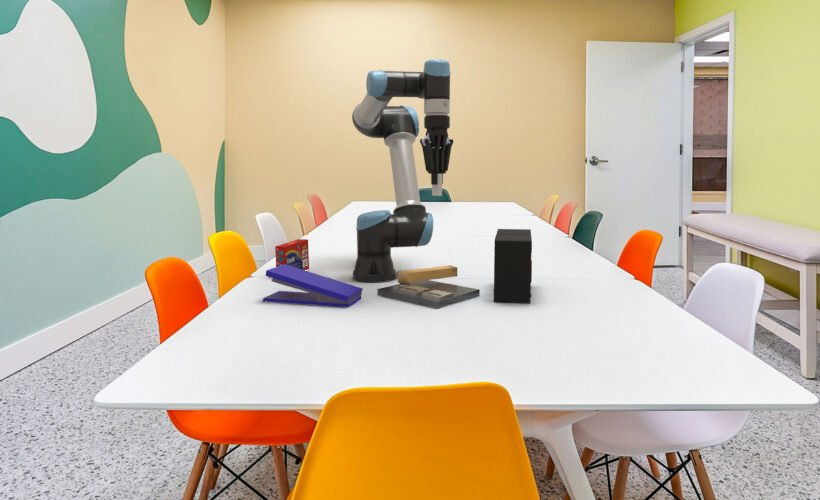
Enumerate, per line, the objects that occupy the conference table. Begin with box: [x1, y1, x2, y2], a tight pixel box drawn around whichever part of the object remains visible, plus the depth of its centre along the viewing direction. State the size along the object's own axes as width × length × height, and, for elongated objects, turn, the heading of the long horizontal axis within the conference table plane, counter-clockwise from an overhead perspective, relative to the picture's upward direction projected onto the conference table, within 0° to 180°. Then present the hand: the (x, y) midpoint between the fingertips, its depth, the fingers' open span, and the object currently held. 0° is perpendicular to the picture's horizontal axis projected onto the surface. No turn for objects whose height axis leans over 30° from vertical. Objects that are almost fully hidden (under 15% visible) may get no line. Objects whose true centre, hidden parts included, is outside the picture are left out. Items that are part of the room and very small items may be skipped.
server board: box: [376, 280, 481, 310], centre depth 178 cm, size 24×20×3 cm
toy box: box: [274, 238, 310, 271], centre depth 212 cm, size 18×4×12 cm, turn 164°
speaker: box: [493, 228, 533, 304], centre depth 180 cm, size 25×11×19 cm, turn 169°
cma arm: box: [397, 265, 458, 284], centre depth 187 cm, size 20×4×3 cm, turn 119°
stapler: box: [262, 264, 363, 308], centre depth 173 cm, size 12×28×10 cm, turn 74°
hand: (437, 195), depth 175 cm, fingers closed
